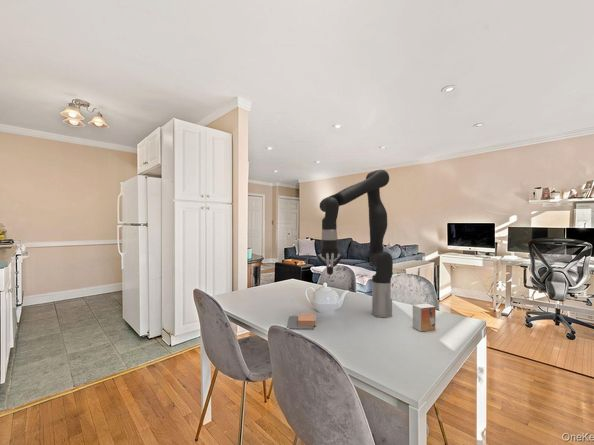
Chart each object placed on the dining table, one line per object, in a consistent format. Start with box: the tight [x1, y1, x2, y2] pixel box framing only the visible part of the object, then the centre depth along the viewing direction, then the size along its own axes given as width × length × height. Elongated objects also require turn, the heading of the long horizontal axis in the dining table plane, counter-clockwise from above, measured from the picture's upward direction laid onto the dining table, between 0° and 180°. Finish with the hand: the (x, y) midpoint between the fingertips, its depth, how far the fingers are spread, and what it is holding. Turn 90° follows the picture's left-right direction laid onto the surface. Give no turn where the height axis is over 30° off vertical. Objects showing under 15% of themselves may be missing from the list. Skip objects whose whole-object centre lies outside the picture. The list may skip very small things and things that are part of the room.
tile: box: [297, 312, 316, 327], centre depth 128 cm, size 2×10×8 cm
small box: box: [412, 303, 436, 333], centre depth 120 cm, size 8×6×10 cm
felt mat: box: [286, 315, 315, 330], centre depth 128 cm, size 12×16×1 cm
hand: (329, 274), depth 129 cm, fingers closed
